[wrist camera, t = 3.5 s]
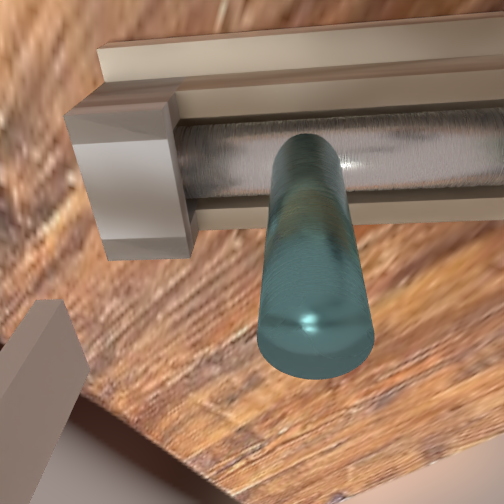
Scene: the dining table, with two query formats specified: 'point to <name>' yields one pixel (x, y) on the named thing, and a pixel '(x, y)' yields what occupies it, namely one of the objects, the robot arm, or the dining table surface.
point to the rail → (272, 117)
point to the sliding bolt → (330, 211)
